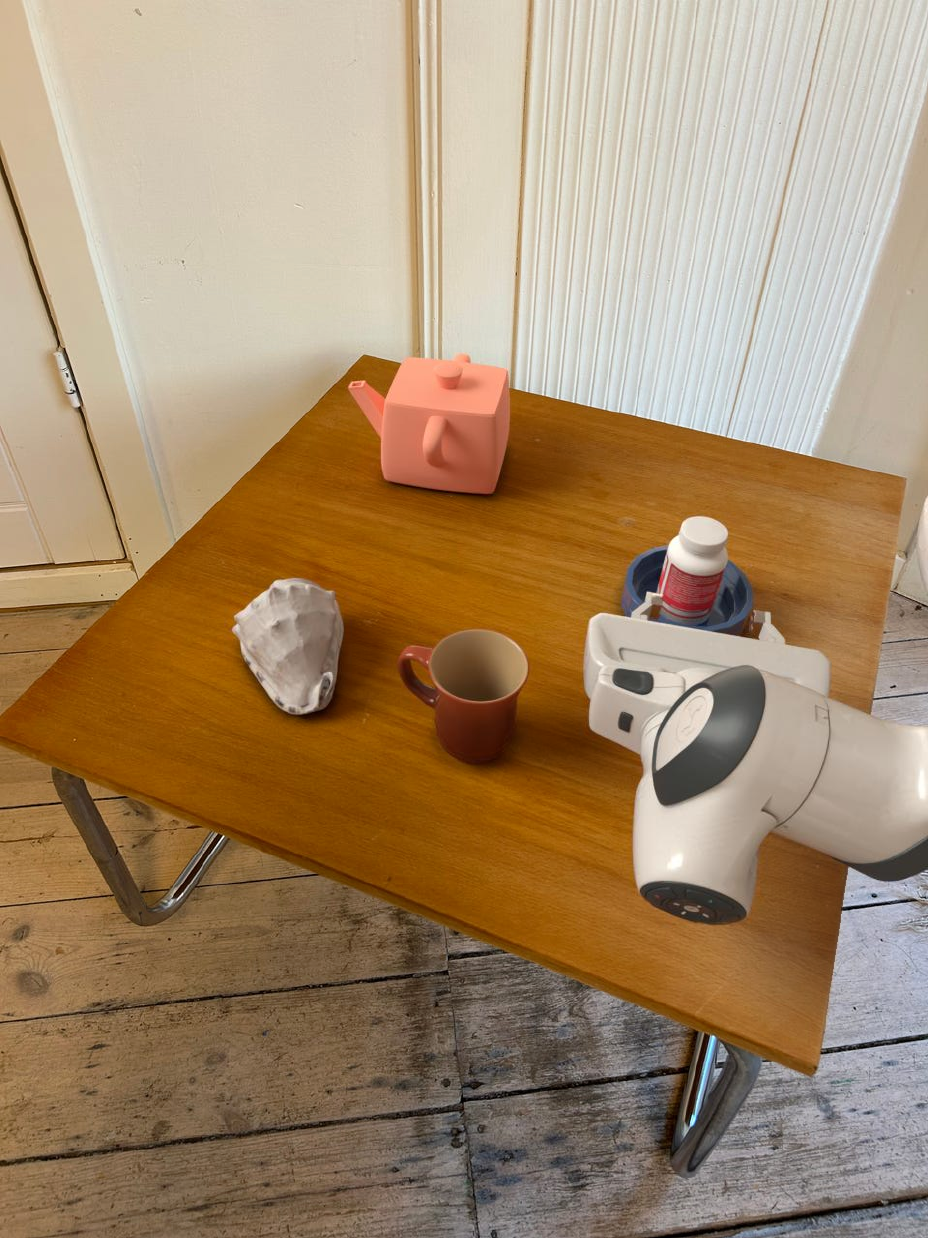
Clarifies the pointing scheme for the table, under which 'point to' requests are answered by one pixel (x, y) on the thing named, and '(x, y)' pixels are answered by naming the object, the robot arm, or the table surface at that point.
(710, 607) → the pill bottle
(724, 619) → the bowl
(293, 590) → the seashell
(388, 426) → the teapot
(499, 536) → the table surface
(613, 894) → the table surface
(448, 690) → the mug
